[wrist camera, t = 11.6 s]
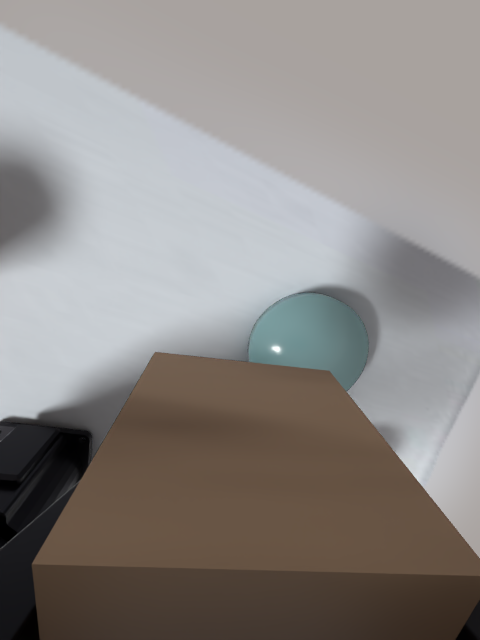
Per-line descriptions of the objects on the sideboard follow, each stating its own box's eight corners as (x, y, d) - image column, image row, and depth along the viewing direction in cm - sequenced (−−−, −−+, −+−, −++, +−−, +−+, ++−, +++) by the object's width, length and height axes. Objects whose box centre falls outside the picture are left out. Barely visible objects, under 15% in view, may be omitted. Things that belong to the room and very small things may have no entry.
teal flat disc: (340, 404, 21) (347, 414, 19) (237, 390, 20) (238, 400, 18) (374, 303, 18) (385, 308, 17) (261, 282, 17) (264, 285, 16)
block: (294, 500, 9) (370, 777, 5) (146, 492, 9) (57, 795, 4) (329, 370, 8) (493, 576, 3) (154, 352, 7) (30, 564, 3)
